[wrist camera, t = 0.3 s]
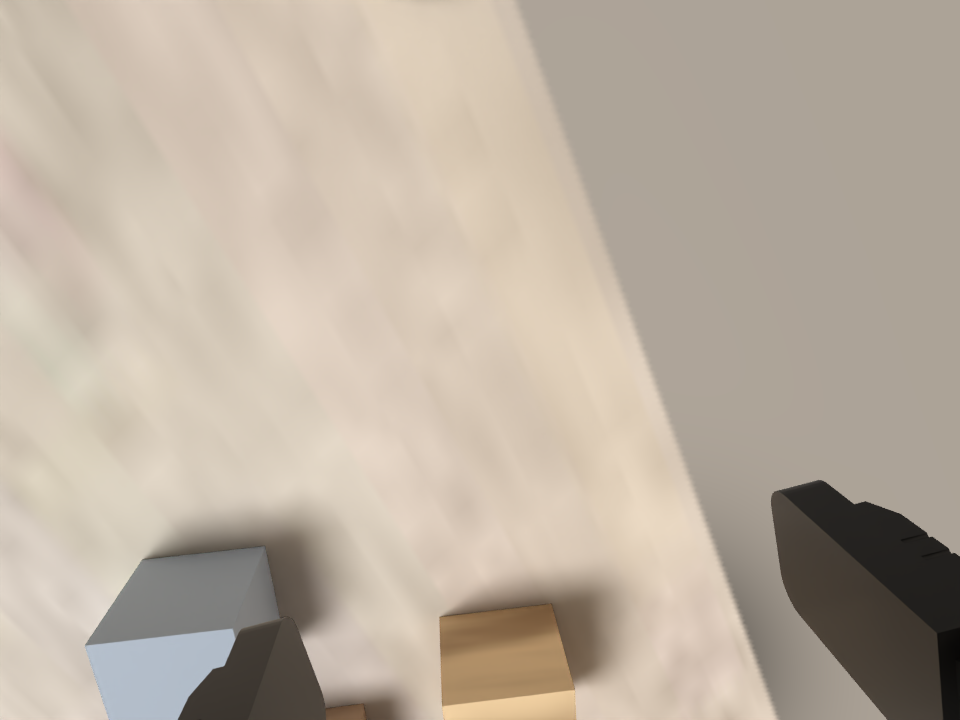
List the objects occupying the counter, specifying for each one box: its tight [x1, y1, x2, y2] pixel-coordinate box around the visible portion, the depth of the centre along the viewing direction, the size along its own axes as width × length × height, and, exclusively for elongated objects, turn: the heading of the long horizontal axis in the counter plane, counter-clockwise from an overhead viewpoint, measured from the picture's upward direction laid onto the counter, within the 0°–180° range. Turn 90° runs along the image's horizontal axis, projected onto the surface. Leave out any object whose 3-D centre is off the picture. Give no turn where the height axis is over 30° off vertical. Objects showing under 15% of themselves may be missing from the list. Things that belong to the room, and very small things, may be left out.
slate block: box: [85, 546, 280, 720], centre depth 29 cm, size 6×6×6 cm
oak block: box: [439, 604, 576, 720], centre depth 31 cm, size 6×6×6 cm
